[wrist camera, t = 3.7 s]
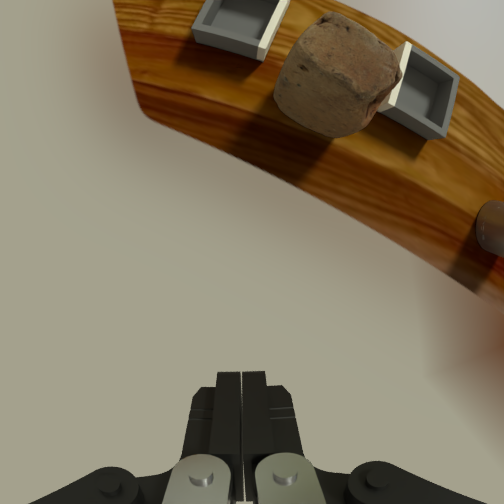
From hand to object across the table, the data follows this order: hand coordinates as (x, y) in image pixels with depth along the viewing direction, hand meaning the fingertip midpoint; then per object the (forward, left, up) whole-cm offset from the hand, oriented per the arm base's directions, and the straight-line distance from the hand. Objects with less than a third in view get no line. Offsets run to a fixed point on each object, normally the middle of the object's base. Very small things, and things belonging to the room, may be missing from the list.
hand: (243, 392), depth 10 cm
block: (-10, -17, -35) cm, 40 cm away
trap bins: (-13, -25, -35) cm, 45 cm away
